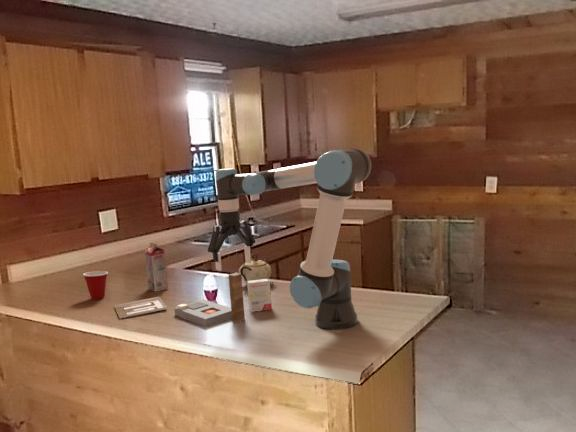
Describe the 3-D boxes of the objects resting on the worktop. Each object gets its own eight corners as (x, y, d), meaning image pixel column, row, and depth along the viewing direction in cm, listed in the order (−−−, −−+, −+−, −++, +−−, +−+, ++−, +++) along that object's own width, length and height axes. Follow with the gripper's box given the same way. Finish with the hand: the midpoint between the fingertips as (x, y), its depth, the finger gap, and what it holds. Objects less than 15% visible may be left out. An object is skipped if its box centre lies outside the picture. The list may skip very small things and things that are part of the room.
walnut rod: (244, 320, 215) (241, 273, 213) (237, 322, 213) (233, 275, 210) (239, 318, 218) (235, 272, 215) (232, 320, 216) (228, 274, 213)
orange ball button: (218, 314, 220) (218, 311, 220) (209, 317, 217) (209, 314, 217) (212, 311, 223) (212, 309, 223) (202, 314, 220) (202, 312, 220)
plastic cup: (115, 296, 261) (112, 270, 259) (96, 302, 252) (92, 276, 250) (100, 293, 267) (97, 268, 265) (80, 299, 258) (77, 274, 256)
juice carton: (155, 291, 264) (150, 245, 261) (148, 289, 269) (143, 243, 266) (167, 288, 268) (163, 242, 265) (160, 286, 273) (156, 241, 270)
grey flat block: (236, 317, 220) (235, 306, 219) (206, 326, 211) (205, 316, 210) (204, 306, 236) (203, 296, 235) (175, 315, 227) (174, 305, 226)
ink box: (269, 306, 231) (267, 277, 229) (272, 309, 226) (270, 280, 224) (248, 308, 229) (246, 280, 227) (250, 312, 224) (248, 283, 223)
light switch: (159, 300, 250) (115, 309, 243) (158, 296, 249) (114, 305, 242) (167, 311, 234) (120, 321, 227) (166, 306, 233) (119, 316, 226)
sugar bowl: (257, 278, 276) (254, 248, 274) (281, 281, 268) (279, 250, 265) (229, 288, 261) (227, 256, 259) (255, 292, 252) (252, 259, 250)
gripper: (249, 205, 222) (254, 258, 225) (194, 214, 205) (200, 272, 208) (261, 206, 216) (265, 261, 219) (206, 216, 200) (211, 274, 203)
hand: (233, 266), depth 214 cm, fingers open, 13 cm apart
